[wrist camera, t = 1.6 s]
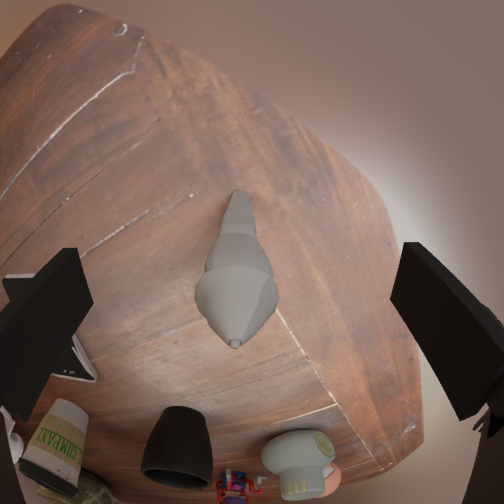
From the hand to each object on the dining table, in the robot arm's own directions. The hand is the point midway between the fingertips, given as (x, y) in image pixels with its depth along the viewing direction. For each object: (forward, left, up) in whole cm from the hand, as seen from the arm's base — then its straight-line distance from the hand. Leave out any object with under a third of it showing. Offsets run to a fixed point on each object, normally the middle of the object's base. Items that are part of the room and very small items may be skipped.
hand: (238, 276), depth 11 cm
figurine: (+51, -2, -10) cm, 52 cm away
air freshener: (+35, +7, -10) cm, 37 cm away
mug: (+30, -8, -10) cm, 33 cm away
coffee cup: (+32, -28, -10) cm, 44 cm away
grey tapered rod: (0, 0, -10) cm, 10 cm away
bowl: (+75, -47, -10) cm, 89 cm away
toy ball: (+47, +12, -10) cm, 49 cm away
